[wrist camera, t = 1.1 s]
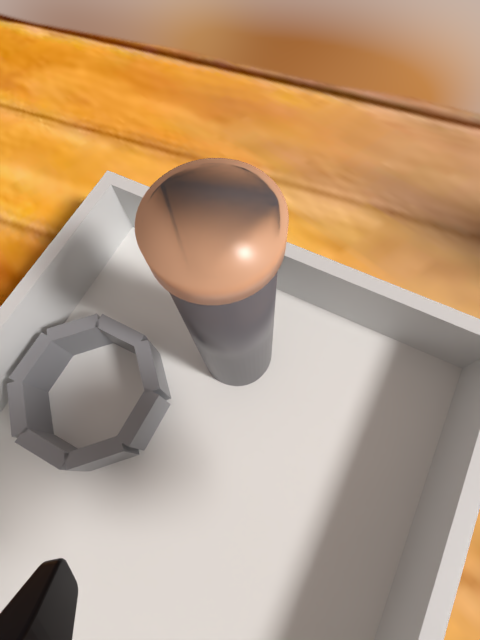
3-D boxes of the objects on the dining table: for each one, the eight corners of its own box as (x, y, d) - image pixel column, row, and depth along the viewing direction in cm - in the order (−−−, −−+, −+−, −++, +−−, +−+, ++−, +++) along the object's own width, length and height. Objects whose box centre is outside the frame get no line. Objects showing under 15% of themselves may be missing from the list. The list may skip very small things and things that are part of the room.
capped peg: (254, 403, 22) (245, 312, 10) (187, 369, 23) (104, 249, 11) (287, 336, 23) (313, 187, 11) (222, 307, 24) (183, 140, 12)
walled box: (307, 893, 16) (326, 1067, 11) (-114, 565, 21) (-222, 589, 16) (473, 366, 23) (526, 337, 18) (133, 221, 28) (107, 170, 24)
